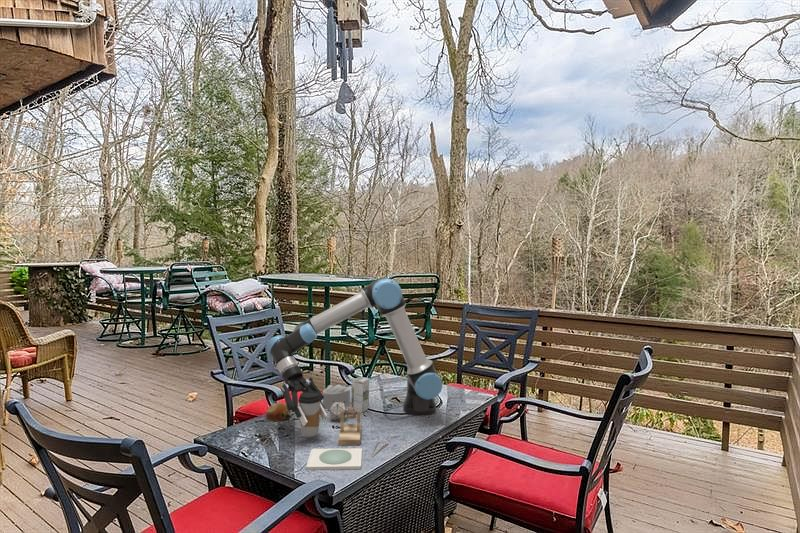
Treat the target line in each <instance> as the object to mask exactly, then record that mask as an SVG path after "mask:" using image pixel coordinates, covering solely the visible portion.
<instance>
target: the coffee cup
mask: <svg viewBox="0 0 800 533" xmlns="http://www.w3.org/2000/svg"><path fill="white" fill-rule="evenodd" d="M320 401H321V396H320V394H319V393H318V392H314V391H310V392H304V393H303V392H301V393H300V394H299V397H298V407H301V409H302V411H303V413H304V415H305V417H306V419H307V421H308V422H307V423H306V425H305V426H303V425H302V423H301V421H300V420H299V422H300V431H301V434H302V436H304V437H314V436H316V435H318V433H319V428H320V427H319V426H320V417H321V416H320ZM321 402H322V401H321Z"/></svg>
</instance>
